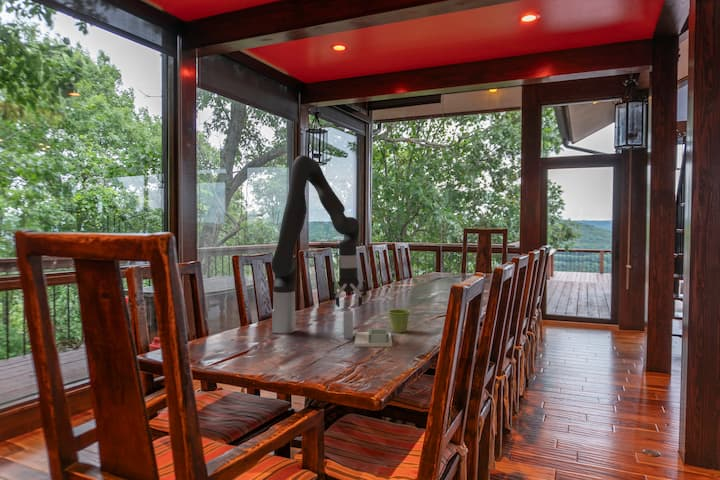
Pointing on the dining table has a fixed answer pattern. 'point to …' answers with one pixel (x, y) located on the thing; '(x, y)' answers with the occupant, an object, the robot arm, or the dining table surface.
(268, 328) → the dining table surface
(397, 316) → the plant pot
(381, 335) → the beige rectangular tray
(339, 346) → the dining table surface
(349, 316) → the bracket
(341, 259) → the robot arm
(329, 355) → the dining table surface
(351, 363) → the dining table surface
